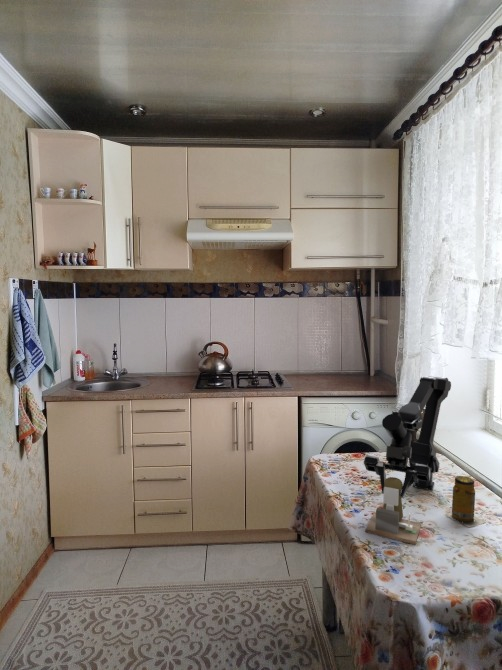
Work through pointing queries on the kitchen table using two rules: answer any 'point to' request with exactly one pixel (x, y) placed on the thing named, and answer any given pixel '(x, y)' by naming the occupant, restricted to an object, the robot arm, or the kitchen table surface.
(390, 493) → the block
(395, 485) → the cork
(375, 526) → the board
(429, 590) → the kitchen table surface
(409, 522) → the pointer
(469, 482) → the condiment
